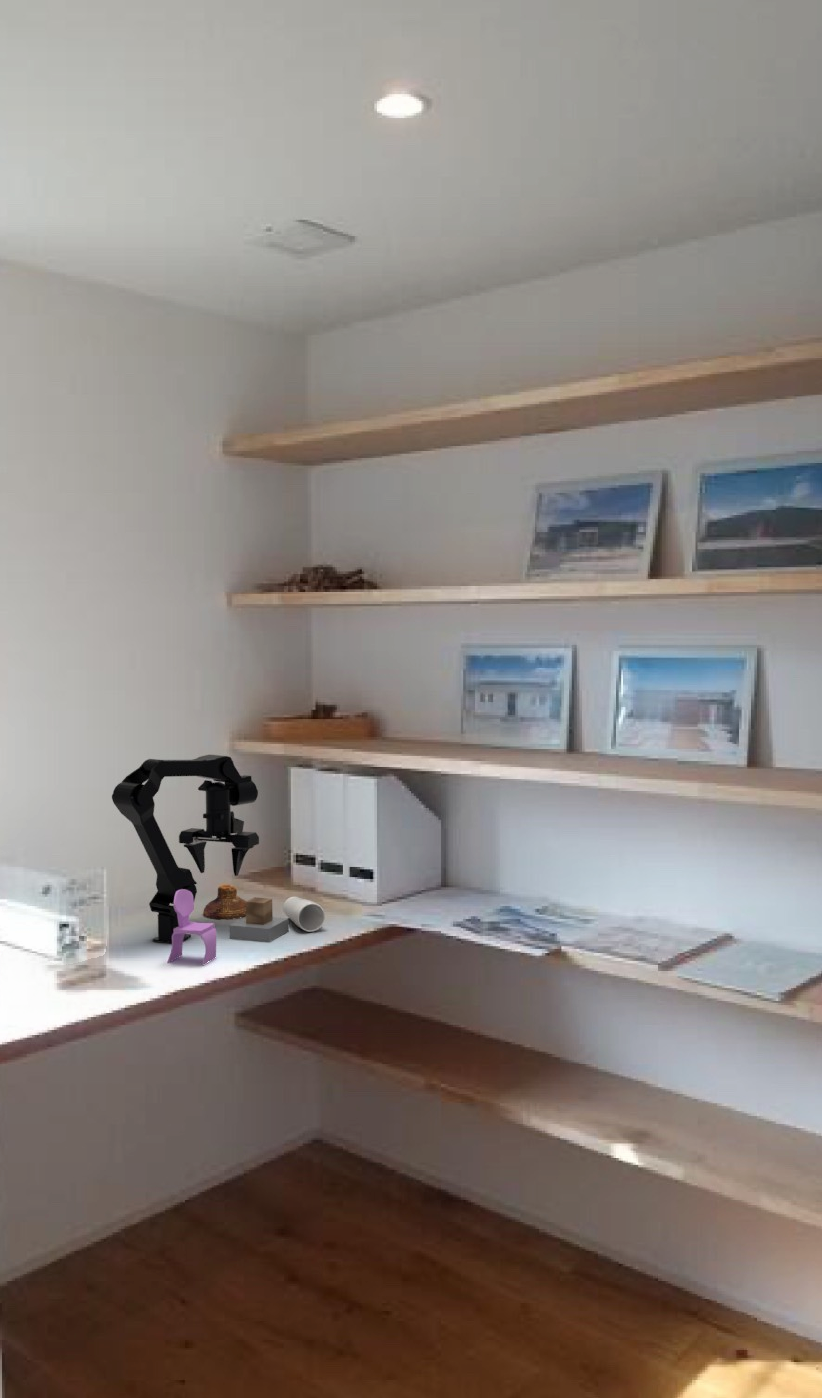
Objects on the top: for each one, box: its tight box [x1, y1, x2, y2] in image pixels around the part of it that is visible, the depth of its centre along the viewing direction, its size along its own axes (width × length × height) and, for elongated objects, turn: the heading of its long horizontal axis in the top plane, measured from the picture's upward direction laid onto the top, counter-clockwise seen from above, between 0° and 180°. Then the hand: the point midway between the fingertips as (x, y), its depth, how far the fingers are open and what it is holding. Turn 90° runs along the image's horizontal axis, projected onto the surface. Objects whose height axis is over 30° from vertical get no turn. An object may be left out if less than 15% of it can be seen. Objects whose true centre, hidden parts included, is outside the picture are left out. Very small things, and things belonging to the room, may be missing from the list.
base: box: [228, 916, 290, 943], centre depth 269 cm, size 10×10×3 cm
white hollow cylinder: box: [282, 896, 326, 933], centre depth 277 cm, size 7×7×15 cm
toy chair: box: [166, 889, 218, 965], centre depth 248 cm, size 8×9×15 cm
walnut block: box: [245, 897, 274, 925], centre depth 268 cm, size 4×4×5 cm
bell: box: [203, 884, 247, 920], centre depth 289 cm, size 12×12×7 cm
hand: (219, 874), depth 276 cm, fingers open, 9 cm apart
